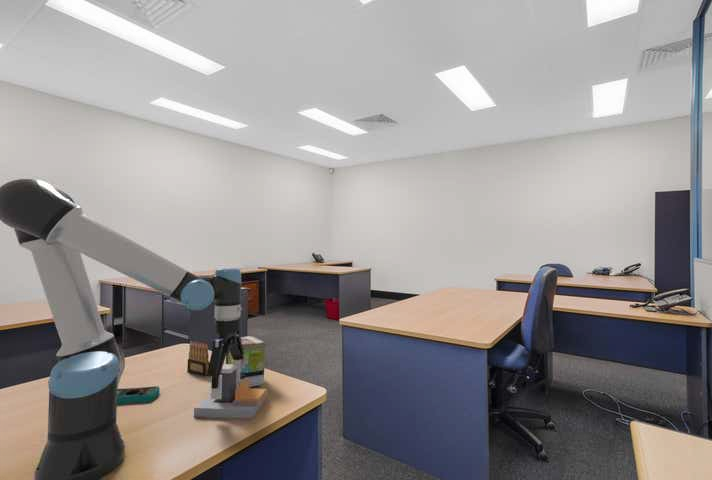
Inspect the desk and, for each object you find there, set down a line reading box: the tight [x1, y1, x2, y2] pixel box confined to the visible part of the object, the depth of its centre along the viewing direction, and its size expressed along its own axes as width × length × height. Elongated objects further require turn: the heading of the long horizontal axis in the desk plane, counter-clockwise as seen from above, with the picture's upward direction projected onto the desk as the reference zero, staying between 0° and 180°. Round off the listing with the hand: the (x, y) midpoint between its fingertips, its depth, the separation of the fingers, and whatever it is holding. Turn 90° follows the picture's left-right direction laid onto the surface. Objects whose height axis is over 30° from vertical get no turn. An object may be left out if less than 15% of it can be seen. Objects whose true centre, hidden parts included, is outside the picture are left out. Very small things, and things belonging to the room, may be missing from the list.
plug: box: [216, 363, 237, 403], centre depth 100 cm, size 4×4×12 cm
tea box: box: [225, 335, 266, 388], centre depth 118 cm, size 15×10×15 cm
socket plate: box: [193, 389, 268, 420], centre depth 99 cm, size 13×17×3 cm
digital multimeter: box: [117, 385, 160, 405], centre depth 105 cm, size 7×15×3 cm, turn 101°
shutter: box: [235, 380, 267, 404], centre depth 99 cm, size 7×7×4 cm
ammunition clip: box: [186, 340, 210, 377], centre depth 127 cm, size 11×2×12 cm, turn 63°
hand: (226, 389), depth 100 cm, fingers open, 12 cm apart
